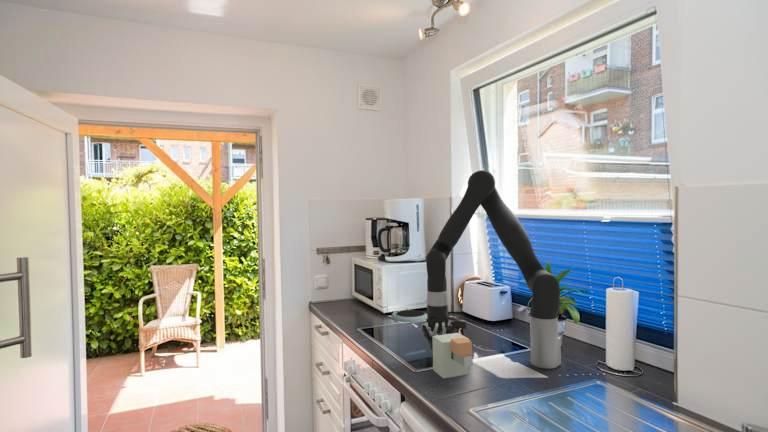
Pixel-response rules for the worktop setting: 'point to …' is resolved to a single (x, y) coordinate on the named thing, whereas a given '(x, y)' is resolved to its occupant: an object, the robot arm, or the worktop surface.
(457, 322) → the toy gun
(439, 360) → the block
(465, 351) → the block
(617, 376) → the worktop surface
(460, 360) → the shaft
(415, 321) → the pale green frying pan
